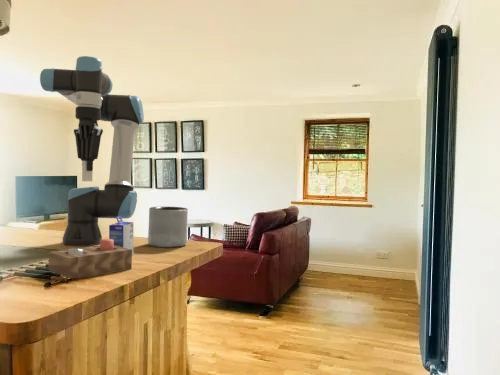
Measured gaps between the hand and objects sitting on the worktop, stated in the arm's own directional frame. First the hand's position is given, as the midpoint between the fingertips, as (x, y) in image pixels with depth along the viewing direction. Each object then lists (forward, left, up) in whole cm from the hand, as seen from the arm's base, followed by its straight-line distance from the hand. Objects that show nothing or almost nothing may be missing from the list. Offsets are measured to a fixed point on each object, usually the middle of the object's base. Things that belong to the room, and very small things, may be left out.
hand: (87, 181), depth 131 cm
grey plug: (+10, -9, -25) cm, 28 cm away
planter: (-10, +42, -27) cm, 51 cm away
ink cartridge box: (0, +13, -27) cm, 30 cm away
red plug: (+10, +1, -23) cm, 25 cm away
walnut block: (+10, -4, -27) cm, 29 cm away
